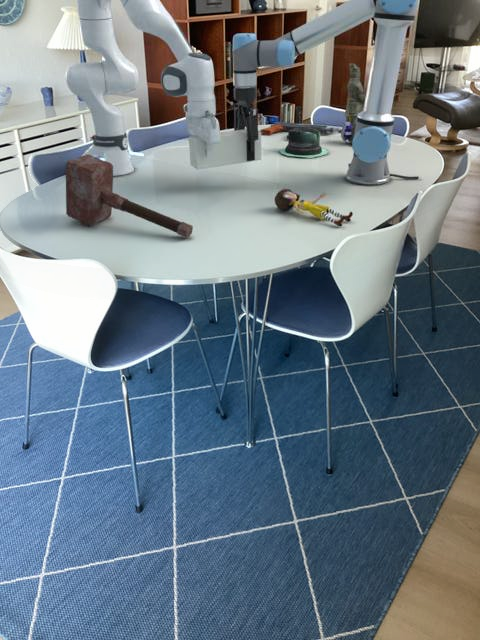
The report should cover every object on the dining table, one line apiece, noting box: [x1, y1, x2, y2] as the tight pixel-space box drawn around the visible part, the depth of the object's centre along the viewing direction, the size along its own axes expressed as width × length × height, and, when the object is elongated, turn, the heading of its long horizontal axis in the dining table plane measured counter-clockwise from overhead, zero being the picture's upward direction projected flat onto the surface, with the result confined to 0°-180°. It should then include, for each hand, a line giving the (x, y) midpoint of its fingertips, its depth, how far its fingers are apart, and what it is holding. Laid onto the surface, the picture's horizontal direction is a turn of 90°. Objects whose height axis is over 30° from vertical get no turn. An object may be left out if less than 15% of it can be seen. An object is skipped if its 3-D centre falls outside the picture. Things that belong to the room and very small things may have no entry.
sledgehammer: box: [65, 154, 194, 239], centre depth 159 cm, size 17×10×40 cm
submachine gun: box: [259, 121, 335, 140], centre depth 264 cm, size 32×3×25 cm
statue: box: [344, 62, 366, 127], centre depth 262 cm, size 11×9×30 cm
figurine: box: [274, 188, 354, 227], centre depth 167 cm, size 13×8×25 cm
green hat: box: [279, 128, 328, 159], centre depth 234 cm, size 15×19×20 cm
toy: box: [338, 121, 356, 143], centre depth 244 cm, size 9×9×15 cm
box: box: [188, 128, 262, 170], centre depth 187 cm, size 24×6×10 cm, turn 116°
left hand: (204, 152), depth 185 cm, fingers closed on box, 6 cm apart
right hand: (246, 158), depth 192 cm, fingers closed on box, 6 cm apart
